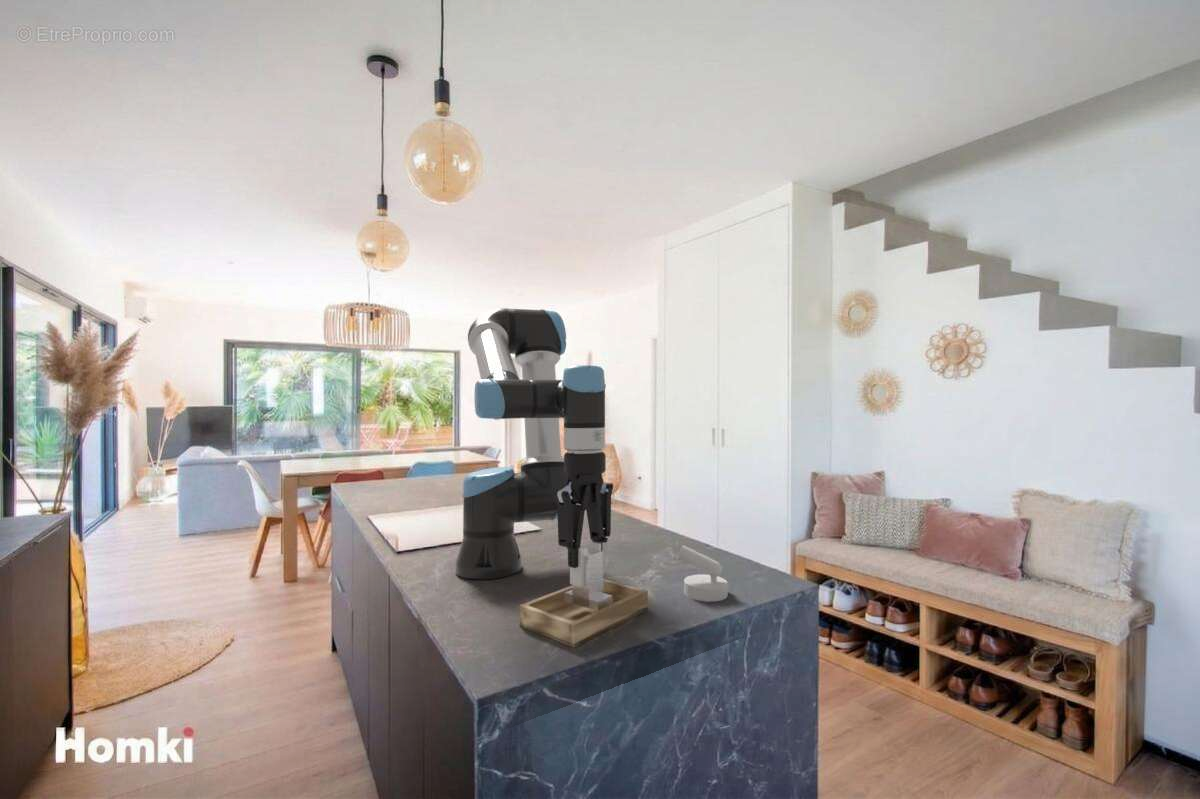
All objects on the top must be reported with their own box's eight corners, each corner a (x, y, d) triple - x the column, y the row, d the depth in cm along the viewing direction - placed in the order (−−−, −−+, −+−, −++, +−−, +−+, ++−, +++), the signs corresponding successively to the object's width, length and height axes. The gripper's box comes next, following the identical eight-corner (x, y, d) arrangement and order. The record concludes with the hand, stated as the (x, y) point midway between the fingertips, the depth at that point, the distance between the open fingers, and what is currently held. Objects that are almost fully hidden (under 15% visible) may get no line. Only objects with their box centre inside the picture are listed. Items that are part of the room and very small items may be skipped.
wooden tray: (519, 625, 91) (519, 605, 91) (595, 593, 106) (595, 576, 106) (573, 647, 83) (573, 625, 83) (647, 609, 98) (647, 590, 98)
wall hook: (677, 539, 112) (726, 541, 110) (678, 584, 111) (726, 587, 109) (675, 550, 103) (727, 553, 101) (675, 599, 103) (728, 603, 101)
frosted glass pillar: (564, 600, 95) (563, 550, 95) (579, 594, 98) (578, 546, 98) (597, 610, 90) (596, 557, 90) (612, 604, 93) (611, 552, 93)
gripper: (566, 455, 86) (567, 599, 85) (629, 449, 99) (631, 573, 98) (535, 453, 91) (536, 589, 90) (599, 447, 104) (600, 566, 103)
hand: (585, 581), depth 94 cm, fingers closed on frosted glass pillar, 4 cm apart
